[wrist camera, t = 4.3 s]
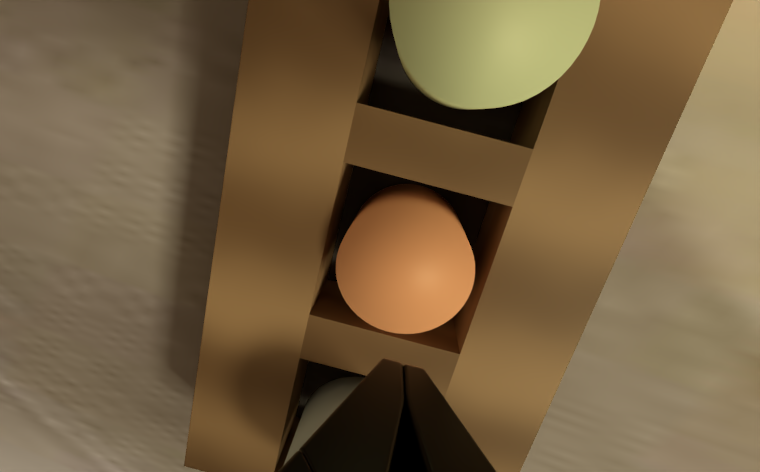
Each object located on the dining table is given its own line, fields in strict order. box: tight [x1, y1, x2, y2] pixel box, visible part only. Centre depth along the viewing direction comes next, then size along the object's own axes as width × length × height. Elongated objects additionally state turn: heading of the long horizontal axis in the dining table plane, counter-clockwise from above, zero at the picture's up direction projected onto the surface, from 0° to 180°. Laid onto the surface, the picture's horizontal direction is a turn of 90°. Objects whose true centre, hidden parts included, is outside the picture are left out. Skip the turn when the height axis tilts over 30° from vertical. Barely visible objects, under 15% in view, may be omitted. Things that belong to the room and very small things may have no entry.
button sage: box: [389, 0, 600, 110], centre depth 11 cm, size 5×5×4 cm
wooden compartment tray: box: [184, 0, 733, 472], centre depth 17 cm, size 24×14×4 cm, turn 166°
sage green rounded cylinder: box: [283, 377, 364, 466], centre depth 16 cm, size 5×5×4 cm
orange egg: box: [336, 184, 475, 334], centre depth 16 cm, size 5×5×4 cm
